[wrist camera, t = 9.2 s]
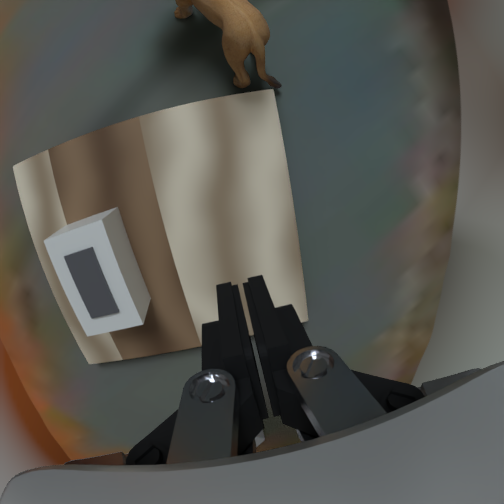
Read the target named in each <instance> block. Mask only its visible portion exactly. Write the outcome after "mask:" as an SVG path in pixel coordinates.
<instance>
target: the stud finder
mask: <svg viewBox="0 0 504 504" xmlns="http://www.w3.org/2000/svg"><path fill="white" fill-rule="evenodd" d="M44 244H45V246H46V249H47V251H48V254H49V256H50V259H51V261H52V264H53V266H54V269H55V271H56V273H57V276H58V278H59V280H60V283H61V285H62V287H63V289H64V291H65V294H66V296H67V298H68V300H69V302H70V304H71V306H72V308H73V310H74V312H75V314H76V316H77V318H78V320H79V322H80V324H81V326H82V328H83V329H84V331H85V333H86V335H87V337H88V336H93V335H97V334H102V333H107V332H112V331H116V330H121V329H125V328H130V327H134V326H139V325H143V324H144V321H145V317H146V313H147V310H148V306H149V303H150V300H151V297H150V295H149V292H148V290H147V287H146V285H145V282H144V280H143V277H142V275H141V272H140V269H139V267H138V264H137V261H136V259H135V256H134V253H133V250H132V248H131V245H130V242H129V239H128V236H127V233H126V230H125V227H124V224H123V221H122V218H121V215H120V212H119V209H118V207H116V208H113V209H110V210H107V211H104V212H102V213H99V214H96V215H93V216H90V217H87V218H84V219H82V220H79V221H76V222H74V223H71V224H68V225H66V226H64V227H63V228H61V229H60V230H58V231H57V232H55V233H54V234H52V235H51V236H50V237H48V238H47V239H45V240H44Z"/></svg>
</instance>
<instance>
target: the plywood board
mask: <svg viewBox="0 0 504 504" xmlns="http://www.w3.org/2000/svg"><path fill="white" fill-rule="evenodd" d="M13 169H14V174H15V178H16V183H17V187H18V191H19V195H20V199H21V203H22V206H23V210H24V213H25V217H26V220H27V224H28V227H29V230H30V233H31V236H32V239H33V242H34V245H35V248H36V251H37V253H38V256H39V259H40V262H41V264H42V267H43V269H44V272H45V275H46V277H47V279H48V282H49V284H50V287H51V289H52V291H53V294H54V296H55V298H56V300H57V303H58V305H59V307H60V309H61V311H62V313H63V316H64V318H65V320H66V322H67V324H68V326H69V328H70V330H71V332H72V334H73V336H74V338H75V339H76V341H77V343H78V345H79V347H80V349H81V351H82V352H83V354H84V356H85V358H86V359H87V361H88V363H89V364H96V363H104V362H111V361H118V360H125V359H132V358H138V357H145V356H151V355H157V354H163V353H168V352H174V351H179V350H185V349H190V348H195V347H200V346H202V324H203V323H208V322H213V321H218V320H219V318H218V305H217V291H216V285H218V284H222V283H227V282H231V283H232V285H236V284H238V288H239V292H240V296H241V301H242V305H243V309H244V314H245V318H246V322H247V326H248V330H249V335H254V333H253V328H252V324H251V319H250V315H249V311H248V306H247V302H246V297H245V293H244V288H243V284H242V283H245V282H248V279H247V278H249V277H254V276H258V275H262V276H263V278H264V281H265V283H266V286H267V289H268V291H269V294H270V296H271V299H272V302H273V304H274V307H275V308H276V307H280V306H285V305H289V304H292V305H293V307H294V309H295V311H296V313H297V315H298V317H299V319H300V321H301V323H302V322H305V321H308V314H307V304H306V296H305V287H304V279H303V270H302V263H301V255H300V247H299V240H298V233H297V225H296V218H295V212H294V205H293V198H292V192H291V185H290V179H289V173H288V167H287V161H286V155H285V149H284V143H283V138H282V132H281V127H280V121H279V116H278V111H277V105H276V100H275V95H274V90H273V89H269V90H261V91H254V92H247V93H241V94H235V95H229V96H223V97H218V98H213V99H208V100H203V101H198V102H194V103H189V104H185V105H181V106H176V107H172V108H168V109H164V110H161V111H157V112H153V113H150V114H146V115H143V116H139V117H136V118H132V119H129V120H126V121H123V122H120V123H117V124H114V125H111V126H108V127H105V128H102V129H99V130H96V131H93V132H91V133H88V134H85V135H83V136H80V137H77V138H75V139H72V140H70V141H67V142H65V143H62V144H60V145H58V146H55V147H53V148H51V149H48V150H46V151H44V152H42V153H39V154H37V155H35V156H33V157H31V158H29V159H27V160H24V161H22V162H20V163H18V164H16V165H14V166H13ZM116 207H118V209H119V212H120V215H121V218H122V221H123V224H124V227H125V230H126V233H127V236H128V239H129V242H130V245H131V248H132V250H133V253H134V256H135V259H136V261H137V264H138V267H139V269H140V272H141V275H142V277H143V280H144V282H145V285H146V287H147V290H148V292H149V295H150V297H151V300H150V303H149V306H148V310H147V313H146V317H145V321H144V324H143V325H139V326H134V327H130V328H125V329H121V330H116V331H112V332H107V333H102V334H97V335H93V336H88V337H87V335H86V333H85V331H84V329H83V328H82V326H81V324H80V322H79V320H78V318H77V316H76V314H75V312H74V310H73V308H72V306H71V304H70V302H69V300H68V298H67V296H66V294H65V291H64V289H63V287H62V285H61V283H60V280H59V278H58V276H57V273H56V271H55V269H54V266H53V264H52V261H51V259H50V256H49V254H48V251H47V249H46V246H45V244H44V240H45V239H47V238H48V237H50V236H51V235H52V234H54V233H55V232H57V231H58V230H60V229H61V228H63V227H64V226H66V225H68V224H71V223H74V222H76V221H79V220H82V219H84V218H87V217H90V216H93V215H96V214H99V213H102V212H104V211H107V210H110V209H113V208H116Z"/></svg>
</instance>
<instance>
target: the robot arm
mask: <svg viewBox="0 0 504 504" xmlns="http://www.w3.org/2000/svg"><path fill="white" fill-rule="evenodd" d="M247 279H248V282H245V283H242V284H243V288H244V293H245V297H246V302H247V306H248V311H249V315H250V319H251V324H252V328H253V333H254V337H255V341H256V346H257V350H258V354H259V358H260V362H261V366H262V370H263V374H264V378H265V382H266V387H267V391H268V395H269V399H270V403H271V407H272V410H273V414H274V417H275V416H279V415H281V419H282V423H283V424H285V425H288V426H290V427H292V428H295V429H296V431H297V434H298V436H299V438H300V440H301V443H297V444H293V445H289V446H285V447H281V448H276V449H272V450H267V451H262V452H257V453H256V441H255V438H256V436H257V435H258V434H259V433H260V432H261V431H262V429H263V428H264V424H263V420H262V419H266V418H269V417H268V413H267V408H266V404H265V400H264V396H263V391H262V387H261V383H260V378H259V374H258V369H257V365H256V361H255V356H254V352H253V347H252V343H251V339H250V335H249V330H248V326H247V322H246V318H245V314H244V309H243V305H242V301H241V296H240V292H239V288H238V284H236V285H232V283H231V282H227V283H222V284H218V285H216V291H217V305H218V318H219V320H218V321H213V322H208V323H203V324H202V371H201V372H198V373H196V374H195V375H193V376H192V377H190V379H189V380H188V381H187V382H186V383H185V386H184V388H183V392H182V396H181V400H180V405H179V409H178V410H177V411H176V412H174V413H173V414H172V415H171V416H170V417H169V418H167V419H166V420H165V421H164V422H163V423H162V424H160V425H159V426H158V427H157V428H156V429H155V430H153V431H152V432H151V433H150V434H149V435H147V436H146V437H145V438H144V439H143V440H141V441H140V442H139V443H138V444H136V445H135V446H134V447H133V448H132V449H131V450H130V452H129V454H124V453H123V452H117V453H112V454H107V455H102V456H97V457H91V458H85V459H79V460H72V461H69V462H66V463H65V464H64V465H52V466H43V467H38V468H34V469H30V470H26V471H24V472H21V473H19V474H17V475H15V476H14V477H13V478H12V479H11V480H10V481H9V482H8V484H7V485H6V487H5V489H4V491H3V493H2V495H1V498H0V504H504V361H502V362H500V363H497V364H494V365H491V366H488V367H486V368H483V369H479V368H477V369H471V370H468V371H465V372H461V373H458V374H455V375H451V376H447V377H444V378H440V379H436V380H432V381H428V382H424V383H422V385H421V387H418V388H417V387H415V386H413V385H410V384H407V383H402V382H398V381H394V380H389V379H385V378H381V377H377V376H373V375H369V374H365V373H361V372H357V371H353V370H350V369H349V367H348V366H347V365H346V364H345V363H344V361H343V360H342V359H341V358H340V357H339V355H338V354H337V353H336V352H334V351H333V350H332V349H329V348H327V347H322V346H312V344H311V342H310V340H309V338H308V336H307V334H306V331H305V329H304V327H303V325H302V323H301V321H300V319H299V317H298V315H297V313H296V311H295V309H294V307H293V305H292V304H289V305H285V306H280V307H276V308H275V307H274V304H273V302H272V299H271V296H270V294H269V291H268V289H267V286H266V283H265V281H264V278H263V276H262V275H258V276H254V277H249V278H247Z"/></svg>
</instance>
